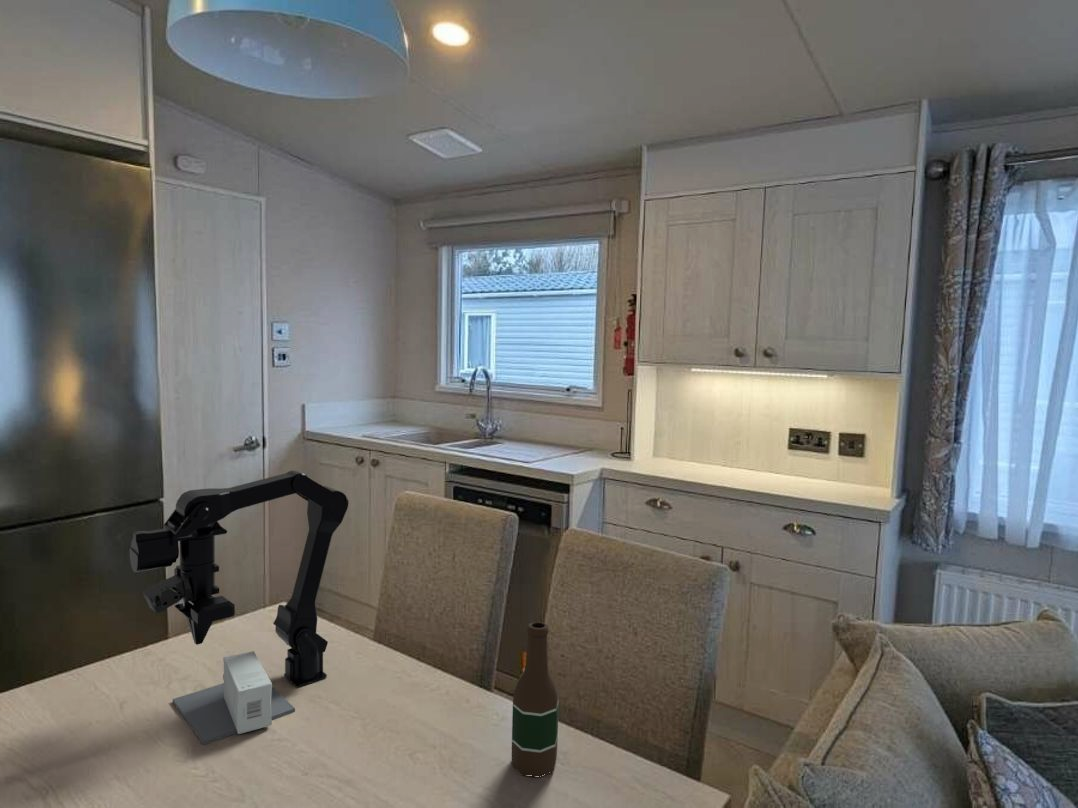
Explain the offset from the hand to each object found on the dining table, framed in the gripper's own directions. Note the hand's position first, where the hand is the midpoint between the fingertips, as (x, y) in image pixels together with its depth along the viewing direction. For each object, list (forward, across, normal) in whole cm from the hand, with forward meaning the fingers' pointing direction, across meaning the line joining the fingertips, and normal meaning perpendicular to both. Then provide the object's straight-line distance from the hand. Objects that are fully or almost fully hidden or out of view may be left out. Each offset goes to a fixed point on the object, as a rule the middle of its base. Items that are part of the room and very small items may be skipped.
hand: (198, 643), depth 123 cm
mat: (+13, +2, +5) cm, 14 cm away
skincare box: (+9, +14, +4) cm, 17 cm away
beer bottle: (+13, +54, +34) cm, 65 cm away
